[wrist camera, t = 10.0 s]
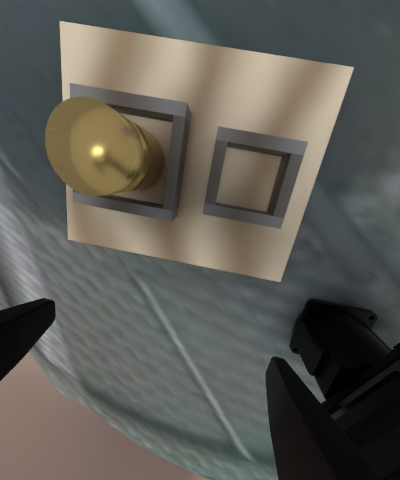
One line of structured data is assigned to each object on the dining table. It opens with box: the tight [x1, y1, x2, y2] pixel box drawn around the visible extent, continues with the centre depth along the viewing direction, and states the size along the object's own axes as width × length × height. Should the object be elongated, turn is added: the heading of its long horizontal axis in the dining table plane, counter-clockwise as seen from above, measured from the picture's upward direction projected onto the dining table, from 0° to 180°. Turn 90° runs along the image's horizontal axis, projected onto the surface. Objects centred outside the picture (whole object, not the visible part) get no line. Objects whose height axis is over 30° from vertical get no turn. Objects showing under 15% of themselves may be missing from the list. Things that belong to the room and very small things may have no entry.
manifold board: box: [60, 21, 354, 282], centre depth 15 cm, size 20×16×4 cm
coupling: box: [45, 96, 165, 196], centre depth 13 cm, size 5×5×6 cm
